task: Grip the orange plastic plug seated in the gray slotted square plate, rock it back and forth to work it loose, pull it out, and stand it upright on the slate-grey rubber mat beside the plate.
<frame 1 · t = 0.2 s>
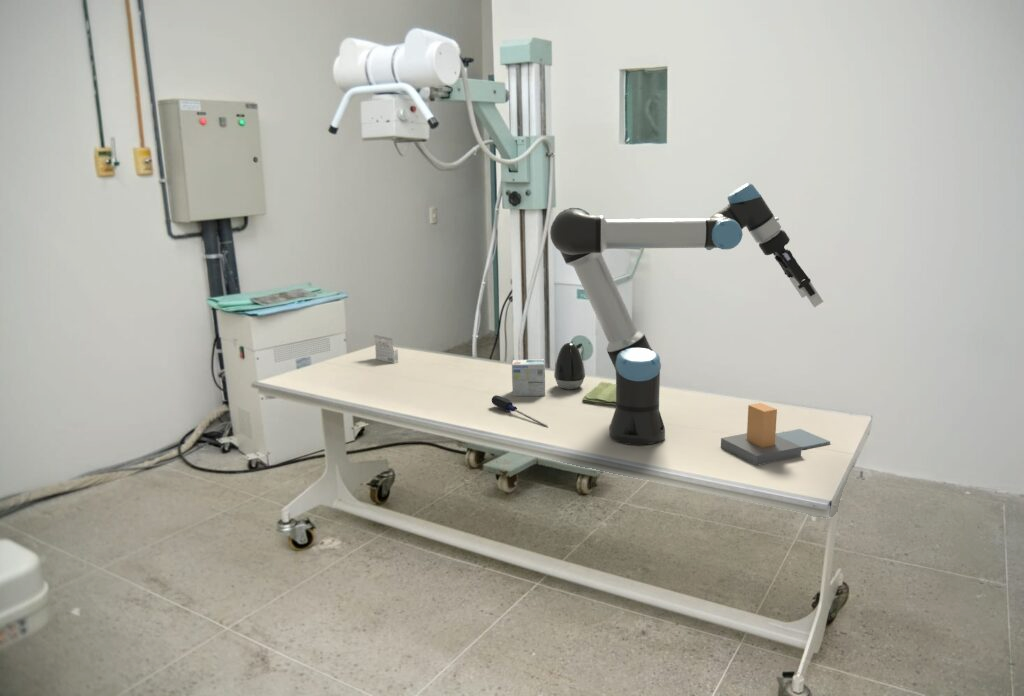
hand: (812, 299, 216), 35 cm above the table, tool tilted 35°, fingers open, 13 cm apart
ink cartridge box: (387, 361, 303), on the table
washcloth: (609, 399, 251), on the table
rubber mat: (798, 440, 210), on the table
gray slotted square plate: (760, 451, 203), on the table
screwdriver: (520, 417, 235), on the table
plug: (761, 429, 202), in the gray slotted square plate
pump dispenser: (569, 387, 263), on the table
light bulb box: (528, 394, 258), on the table
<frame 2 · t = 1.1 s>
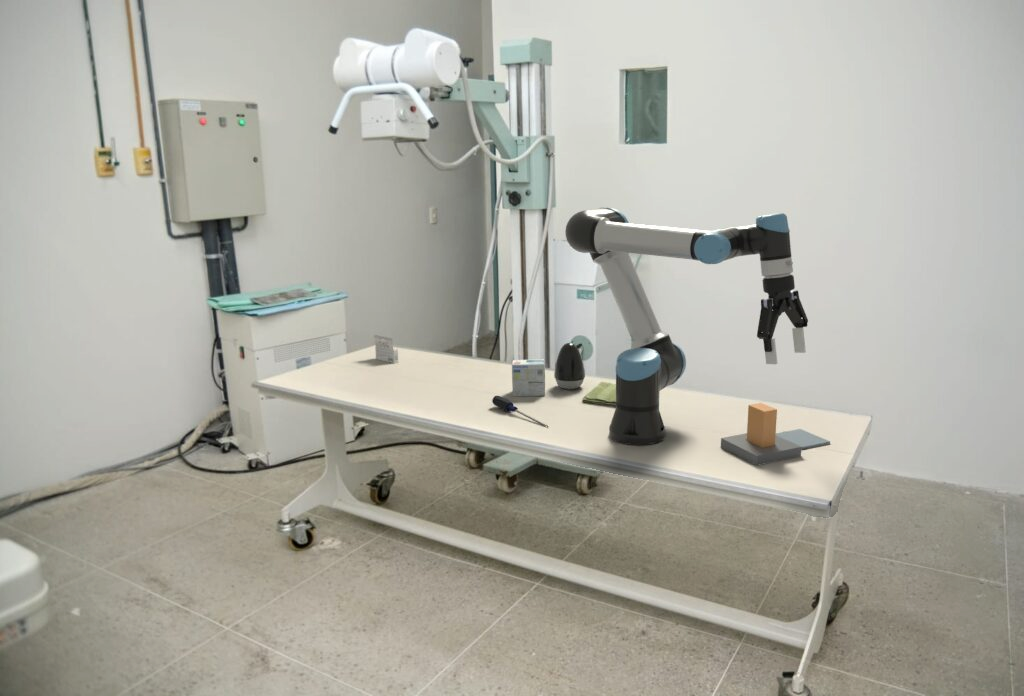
hand: (786, 358, 202), 24 cm above the table, tool pointing down, fingers open, 13 cm apart
nothing on the table moved.
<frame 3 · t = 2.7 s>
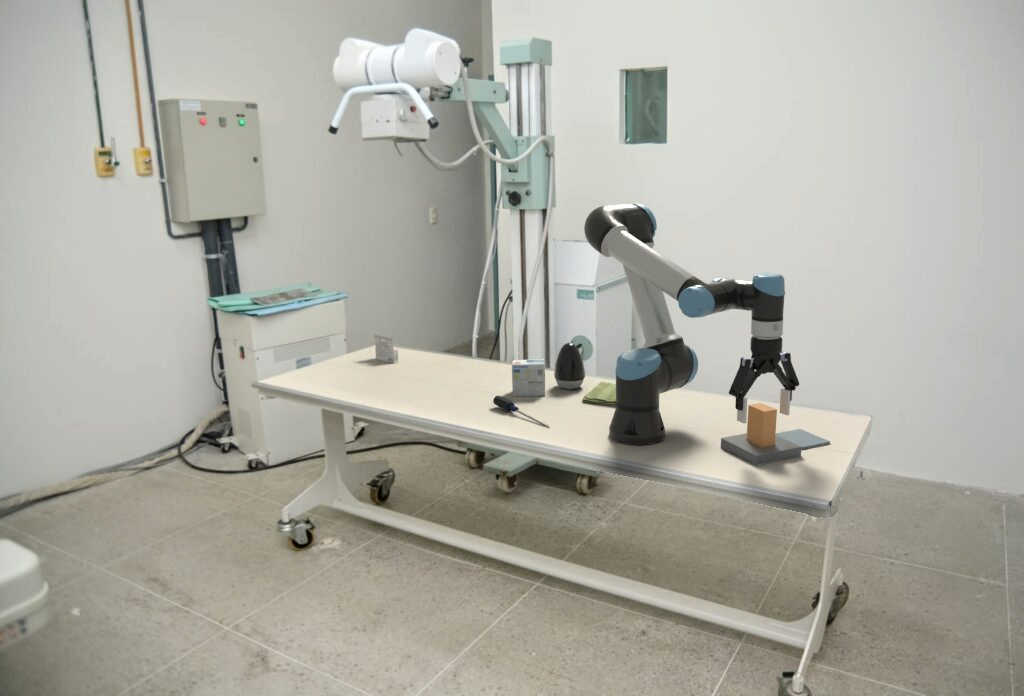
hand: (763, 417, 201), 9 cm above the table, tool pointing down, fingers open, 13 cm apart
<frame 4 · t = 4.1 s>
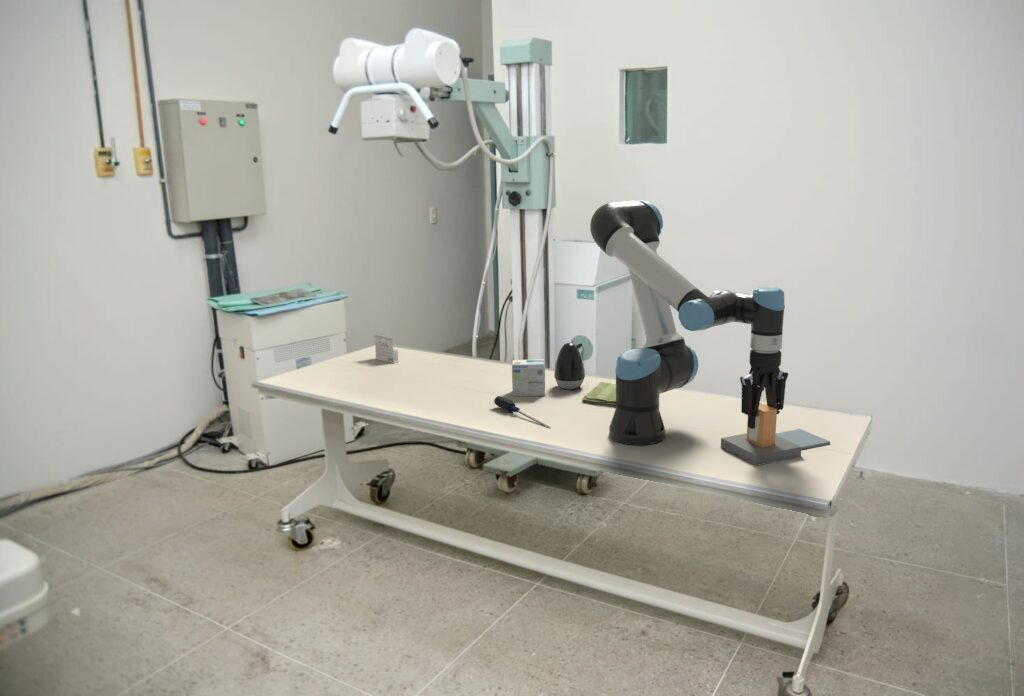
hand: (760, 438, 202), 4 cm above the table, tool pointing down, fingers closed on plug, 4 cm apart
plug: (761, 429, 202), in the gray slotted square plate, touching gripper
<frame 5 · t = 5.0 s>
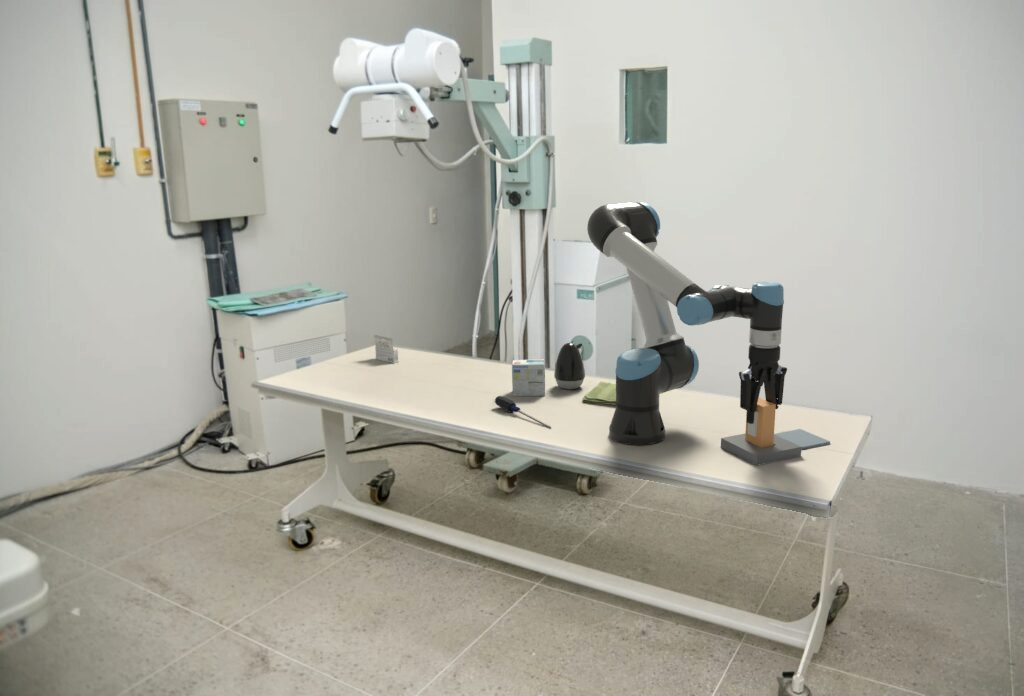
hand: (759, 433, 202), 5 cm above the table, tool pointing down, fingers closed on plug, 4 cm apart
plug: (760, 424, 201), point 7 cm above the table, touching gray slotted square plate, gripper
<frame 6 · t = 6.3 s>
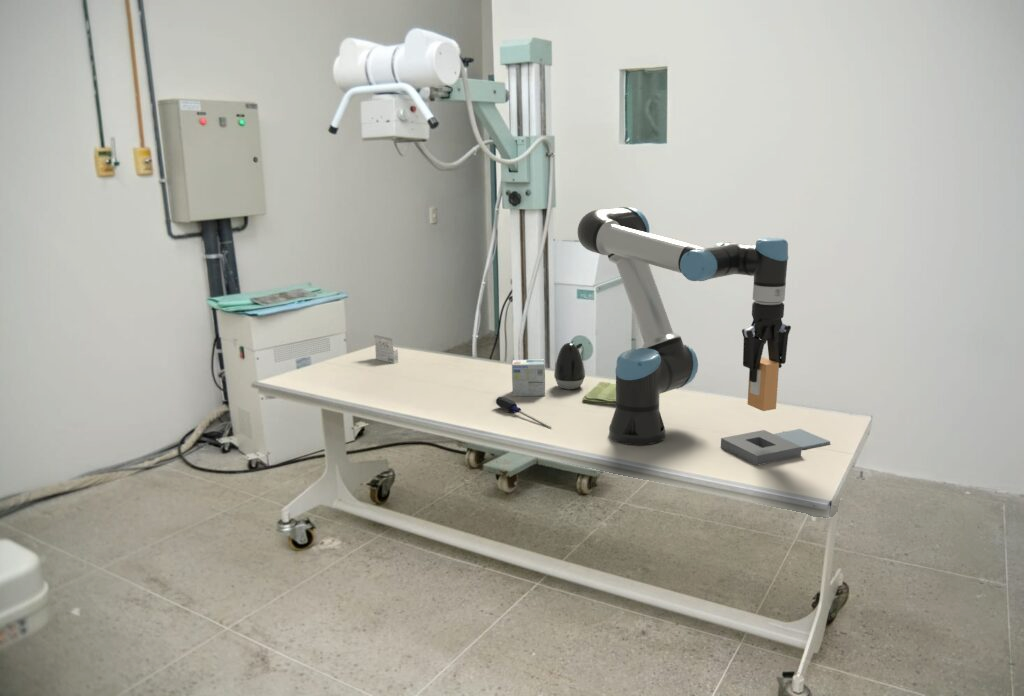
hand: (762, 392, 200), 16 cm above the table, tool pointing down, fingers closed on plug, 4 cm apart
plug: (763, 384, 199), point 18 cm above the table, touching gripper
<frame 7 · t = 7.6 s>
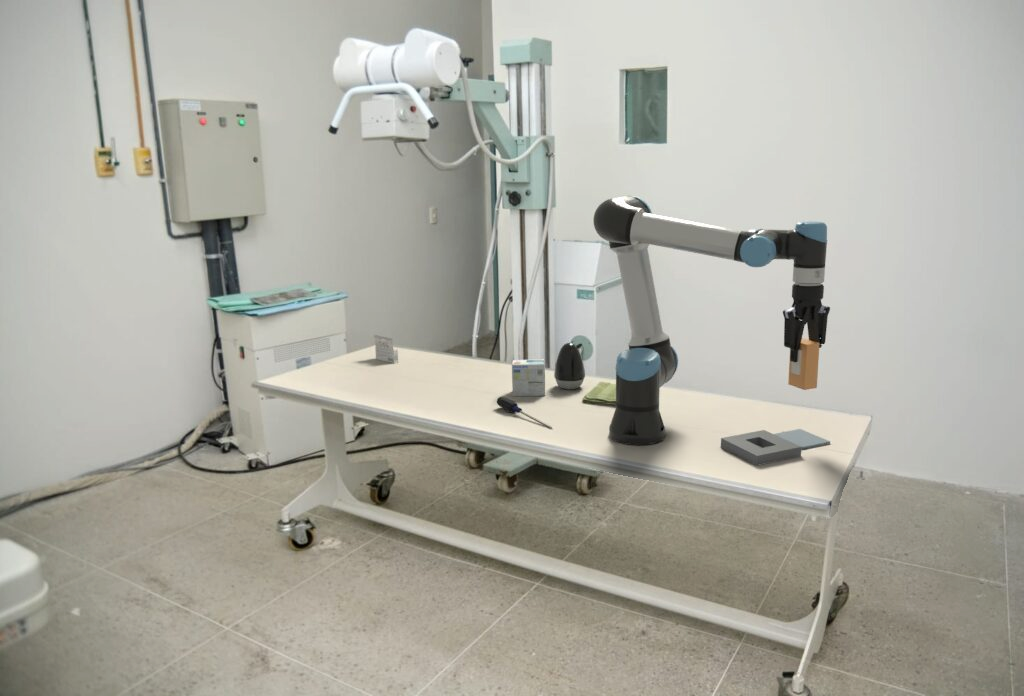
hand: (803, 372, 205), 19 cm above the table, tool pointing down, fingers closed on plug, 4 cm apart
plug: (803, 363, 205), point 21 cm above the table, touching gripper
when the fingers open (6 cm above the table, at t = 10.7 s): plug drops 1 cm, resting on rubber mat.
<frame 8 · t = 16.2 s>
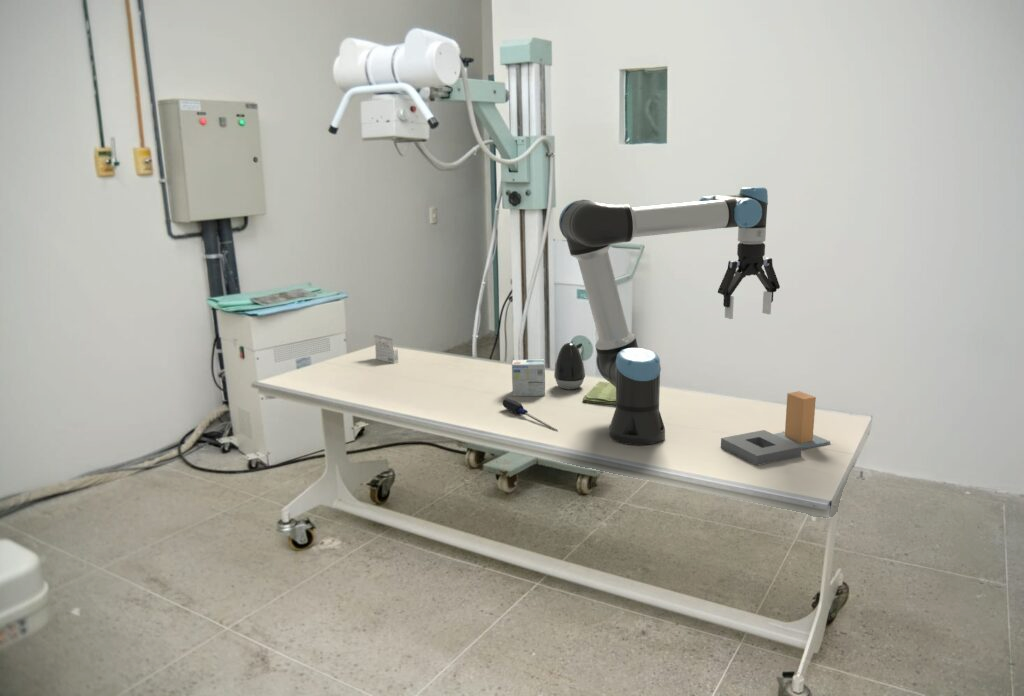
hand: (747, 315, 229), 29 cm above the table, tool pointing down, fingers open, 13 cm apart
screwdriver: (530, 420, 232), on the table
plug: (800, 416, 209), on the rubber mat, point 7 cm above the table
everything else where it was.
at the end: plug inside the target area on the rubber mat (0.1 cm from its centre), point 6.6 cm above the rubber mat's base; plug tilted 0°; plug touching rubber mat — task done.
